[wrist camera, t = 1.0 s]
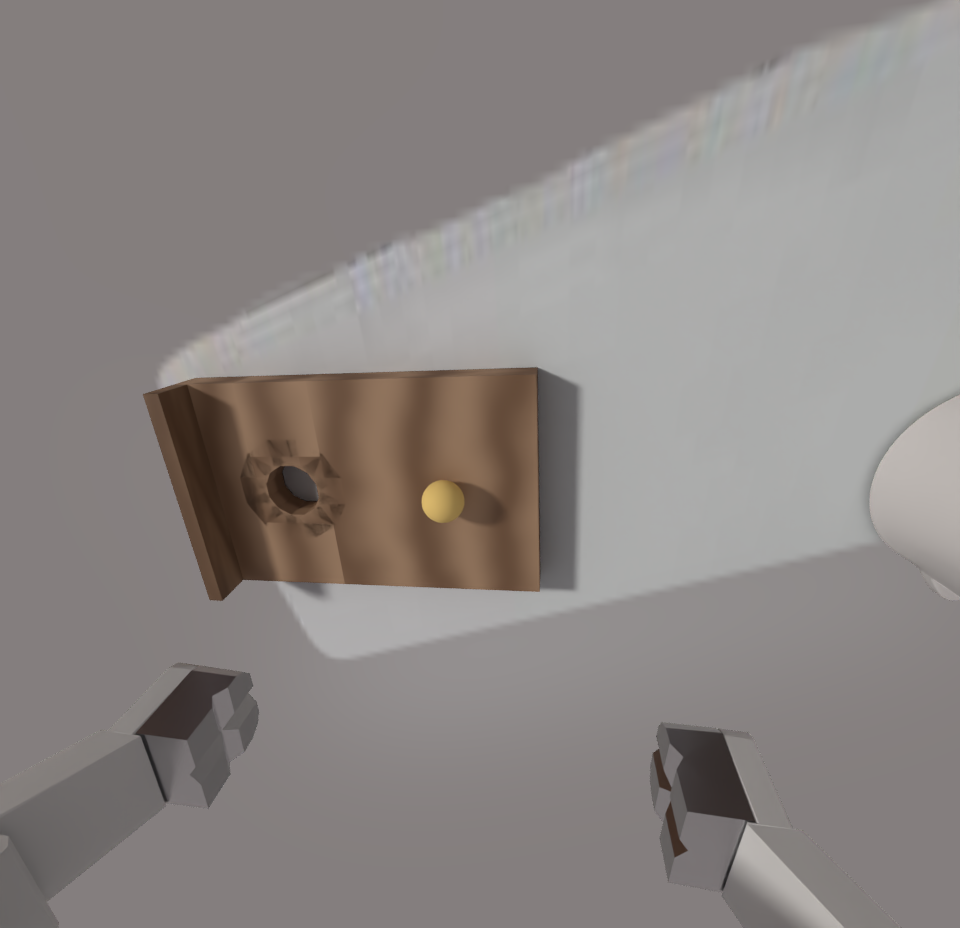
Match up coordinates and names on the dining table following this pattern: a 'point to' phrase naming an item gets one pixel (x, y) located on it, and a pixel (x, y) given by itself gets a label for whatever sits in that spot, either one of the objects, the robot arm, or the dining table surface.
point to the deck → (357, 476)
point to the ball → (443, 501)
